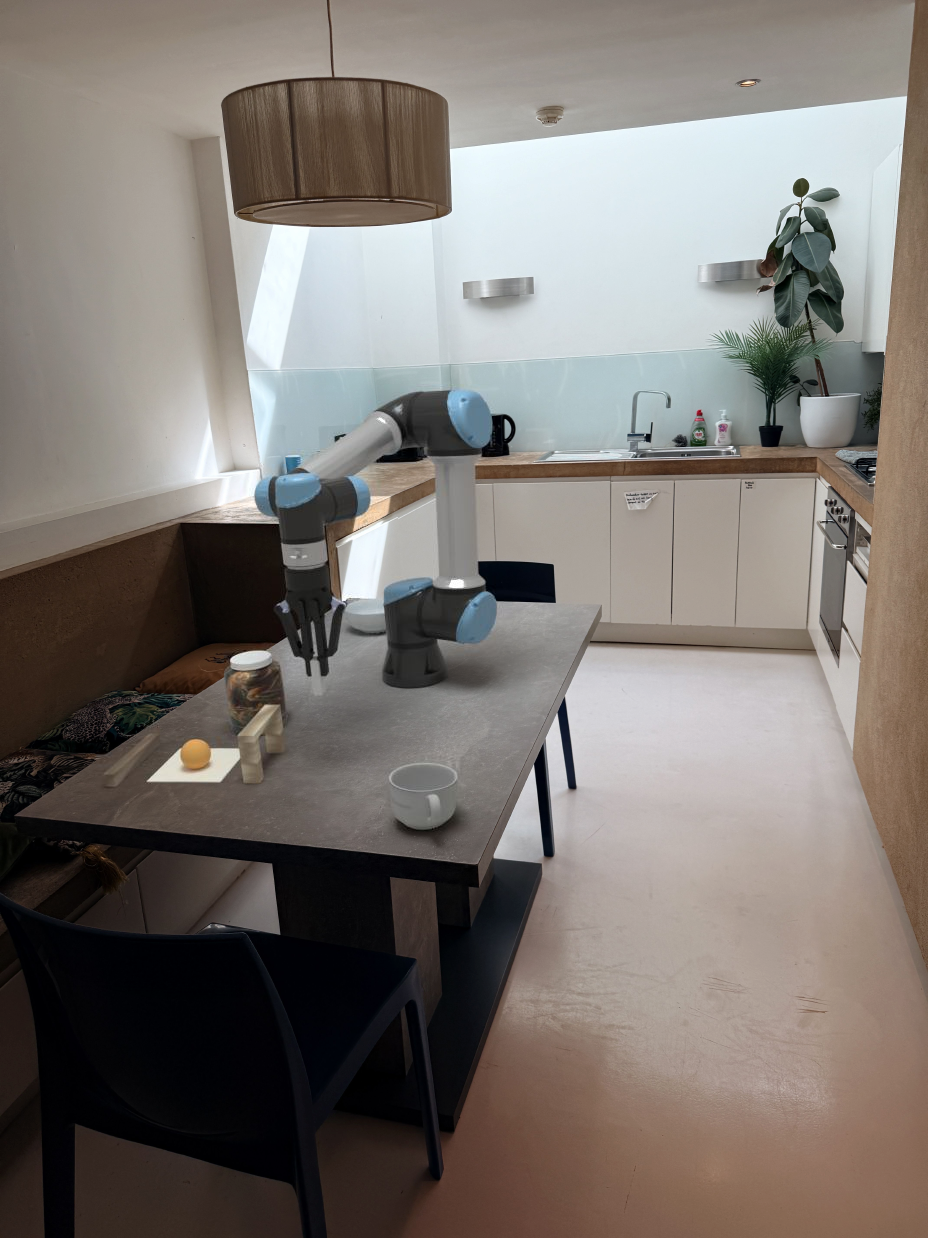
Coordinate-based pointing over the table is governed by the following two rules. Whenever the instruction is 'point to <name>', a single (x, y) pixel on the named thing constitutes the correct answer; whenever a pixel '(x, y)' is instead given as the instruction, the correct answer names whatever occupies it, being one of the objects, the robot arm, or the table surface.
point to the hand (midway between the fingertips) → (320, 692)
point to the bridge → (249, 742)
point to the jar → (253, 687)
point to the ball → (195, 754)
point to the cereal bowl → (366, 615)
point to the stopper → (131, 760)
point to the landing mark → (211, 772)
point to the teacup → (423, 794)
